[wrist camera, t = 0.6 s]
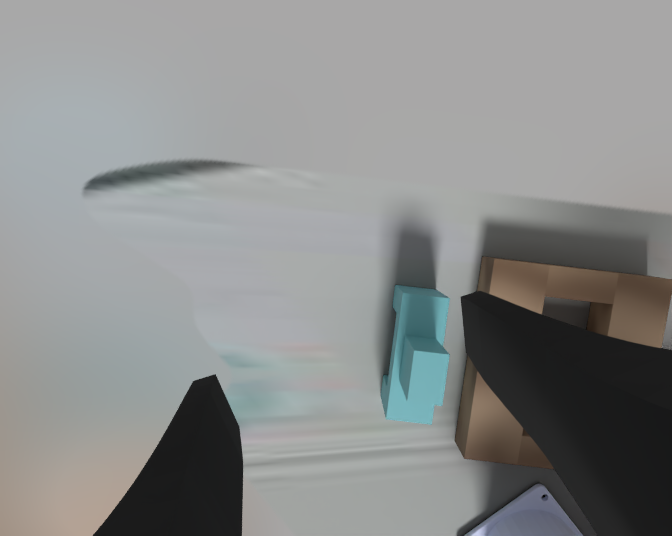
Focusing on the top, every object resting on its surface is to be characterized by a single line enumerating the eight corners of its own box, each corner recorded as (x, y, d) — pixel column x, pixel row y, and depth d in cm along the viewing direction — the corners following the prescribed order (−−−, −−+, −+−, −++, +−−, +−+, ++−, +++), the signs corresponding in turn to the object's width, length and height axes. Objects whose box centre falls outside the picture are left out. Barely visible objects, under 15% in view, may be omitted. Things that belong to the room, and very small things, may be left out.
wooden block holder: (482, 256, 31) (494, 258, 29) (647, 275, 31) (674, 279, 29) (454, 440, 32) (464, 458, 30) (613, 459, 32) (636, 479, 30)
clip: (395, 284, 31) (411, 302, 24) (436, 289, 31) (465, 308, 24) (380, 395, 32) (392, 446, 25) (420, 400, 32) (444, 452, 25)
